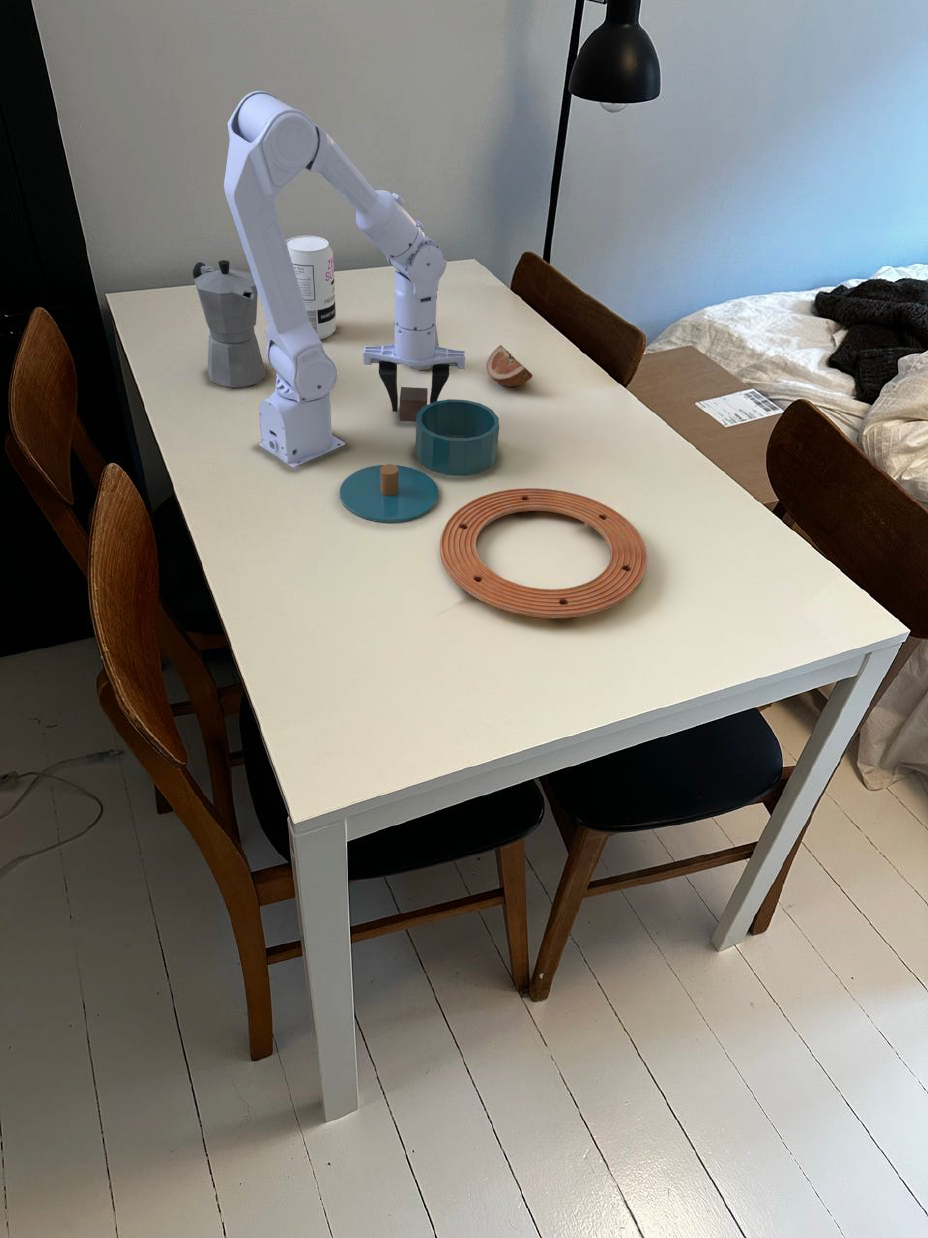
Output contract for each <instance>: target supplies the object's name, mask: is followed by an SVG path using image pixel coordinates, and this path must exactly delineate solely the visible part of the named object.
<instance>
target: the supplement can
mask: <svg viewBox="0 0 928 1238" xmlns="http://www.w3.org/2000/svg"><path fill="white" fill-rule="evenodd" d="M285 241H286V244H287V247H288V251H289V254H290V257H291V261H292V264H293V267H294V271H295V274H296V278H297V281H298V284H299V288H300V291H301V294H302V298H303V301H304V304H305V308H306V311H307V315H308V318H309V321H310V323H311V325H312V327H313V329H314V330H315V332H316V334H317V335H318V337H319V339H320V340H325V339H327V338H329V337H330V336H332V334H333V333H335V332H336V329H337V313H336V312H337V311H336V289H335V286H336V285H335V264H334V251H333V250H332V247H331V246H330V242H329V241H328V240H327V239H325V238H324V237H321V236H316V235H296V236H293V237H290V238H288V239H286V240H285Z"/></svg>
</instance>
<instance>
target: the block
mask: <svg viewBox="0 0 928 1238" xmlns="http://www.w3.org/2000/svg"><path fill="white" fill-rule="evenodd" d="M428 392H429V388H428V387H414V386H411V387H410V386H401V387H400V392H399V421H400V422H416V416H417V413H418V412H419V411H420V410H421V409H422V408H423V407H424V406H426V405H428Z"/></svg>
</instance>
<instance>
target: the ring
mask: <svg viewBox="0 0 928 1238" xmlns="http://www.w3.org/2000/svg"><path fill="white" fill-rule="evenodd" d="M532 511H533V512H534V511H535V512H541V511H542V512H549V513H556V514H561V515H564V516H568V517H571V518H574V519H576V520H578V521H580V522H583V523H585V524H586V525H588V526H589V527H591V528H592V529H594V531H595V532H596V533H598V534H599V535H600V536H601V537H602V538H603V539H604V541H605V543H606V545H607V547H608V551H609V561H608V564H607V566H606V567H605V569H604V570H603V571H602V572H601V573H600V574H599V575H598V576H596V577H595V578H593V579H592V580H589V581H588V582H585V583H582V584H579V585H575V586H572V587H566V588H552V589H551V588H537V587H531V586H526V585H522V584H519V583H517V582H513V581H510V580H508V579H506V578H504V577H502V576H500V575H499V574H497V573H496V572H494V571H493V570H491V569H490V568H489V567H488V566H487V565H486V564H485V563H484V561H483V560H482V559H481V557H480V555H479V551H478V549H477V540H478V537H479V535H480V534H481V532H482V531H483V530H484V529H485V527H487V526H488V525H489V524H491V523H492V522H494V521H495V520H497V519H499V518H502V517H504V516H507V515H510V514H516V513H529V512H532ZM439 554H440V559H441V562H442V565H443V567H444V569H445V571H446V573H447V574H448V576H449V577H450V578H451V579H452V580H453V582H454V583H455V584H457V586H458V587H460V588H461V589H462V590H464V591H465V592H466V593H467V594H468V595H470V596H472V597H473V598H475V599H477V600H479V601H481V602H482V603H485V604H487V605H488V606H491V607H494V608H496V609H500V610H501V611H502V610H503V611H505V612H509V613H513V614H516V615H517V614H518V615H522V616H526V617H532V618H533V617H534V618H541V619H558V620H565V619H569V618H577V617H584V616H589V615H594V614H596V613H601V612H604V611H606V610H608V609H610V608H612V607H615V606H616V605H618V604H620V603H621V602H623V601H625V600H626V599H627V598H628V597H629V596H631V595H632V594H633V593H634V592H635V590H636V589H637V588H638V587H639V585H640V583H641V582H642V581H643V578H644V575H645V573H646V570H647V566H648V551H647V547H646V545H645V542H644V539H643V537H642V536H641V534H640V533H639V530H638V529H636V527H635V526H634V525H633V524H632V523H631V522H630V521H629V520H628V519H627V518H626V517H625V516H623V515H622V514H621V513H619V512H618V511H616V510H615V509H613V508H612V507H610V506H608V505H607V504H604V503H603V502H600V501H597V500H595V499H592V498H590V497H588V496H584V495H582V494H581V495H580V494H577V493H573V492H569V491H563V490H559V489H552V488H539V487H538V488H537V487H525V488H524V487H523V488H512V489H505V490H499V491H495V492H491V493H488V494H484V495H482V496H479V497H477V498H475V499H473V500H471V501H469V502H467V503H465V504H464V505H463V506H461V507H460V508H459V509H457V510H456V511H455V512H454V513H453V514H452V515H451V517H449V519H448V520H447V521H446V523H445V525H444V528H443V529H442V532H441V535H440V539H439Z"/></svg>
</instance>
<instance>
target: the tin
mask: <svg viewBox="0 0 928 1238" xmlns="http://www.w3.org/2000/svg"><path fill="white" fill-rule="evenodd" d="M499 432H500V417H499V416H498V415H497V413H495V411H494V409H492V408H490V407H488V406H486V405H484V404H482V403H480V402H476V401H472V400H468V399H456V398H455V399H452V398H449V399H448V398H447V399H441V400H437V401H435V402H433V403H431V404H430V403H427V405H426V406H424V407H423V408H422V409H421V410H420V411H419V412H418V413H417V416H416V421H415V453H414V454H415V458H416V459H417V460H418V462H419V464H420V465H422V467H425V468H426V469H428V470H429V471H431V472H434V473H438V474H441V475H444V476H454V477H455V476H457V477H466V476H471V475H477V474H480V473H482V472H484V471H486V470H489V469H490V468H491V467H492V466H493V465H494V463H495V462H496V461H497V455H498V445H499V434H500V433H499ZM449 436H455V437H449ZM456 436H459V437H456ZM461 437H466V438H461Z"/></svg>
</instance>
